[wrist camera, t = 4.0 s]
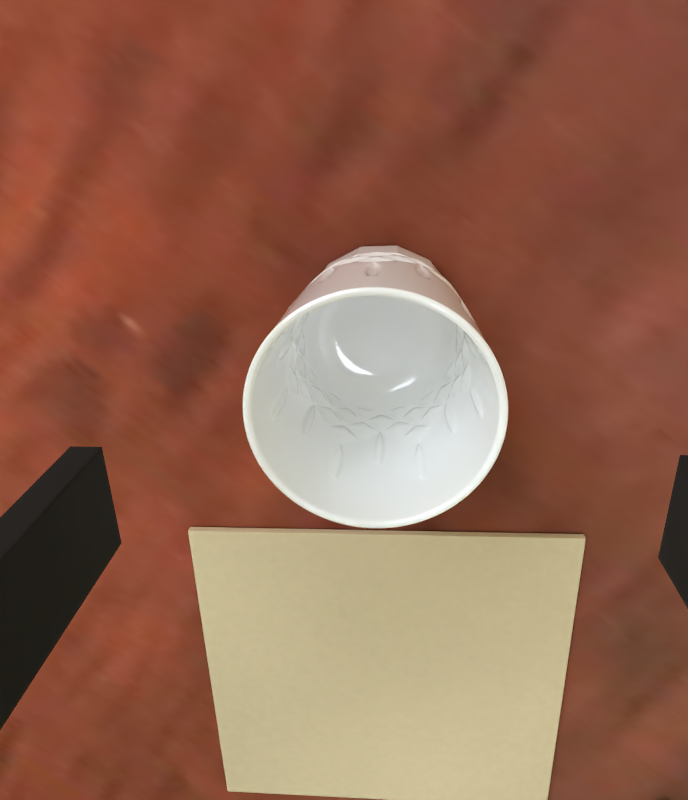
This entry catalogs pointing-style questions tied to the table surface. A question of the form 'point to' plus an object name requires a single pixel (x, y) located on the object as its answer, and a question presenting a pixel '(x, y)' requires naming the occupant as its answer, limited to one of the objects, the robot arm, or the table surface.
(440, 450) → the white cup
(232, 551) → the desk mat
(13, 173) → the table surface
